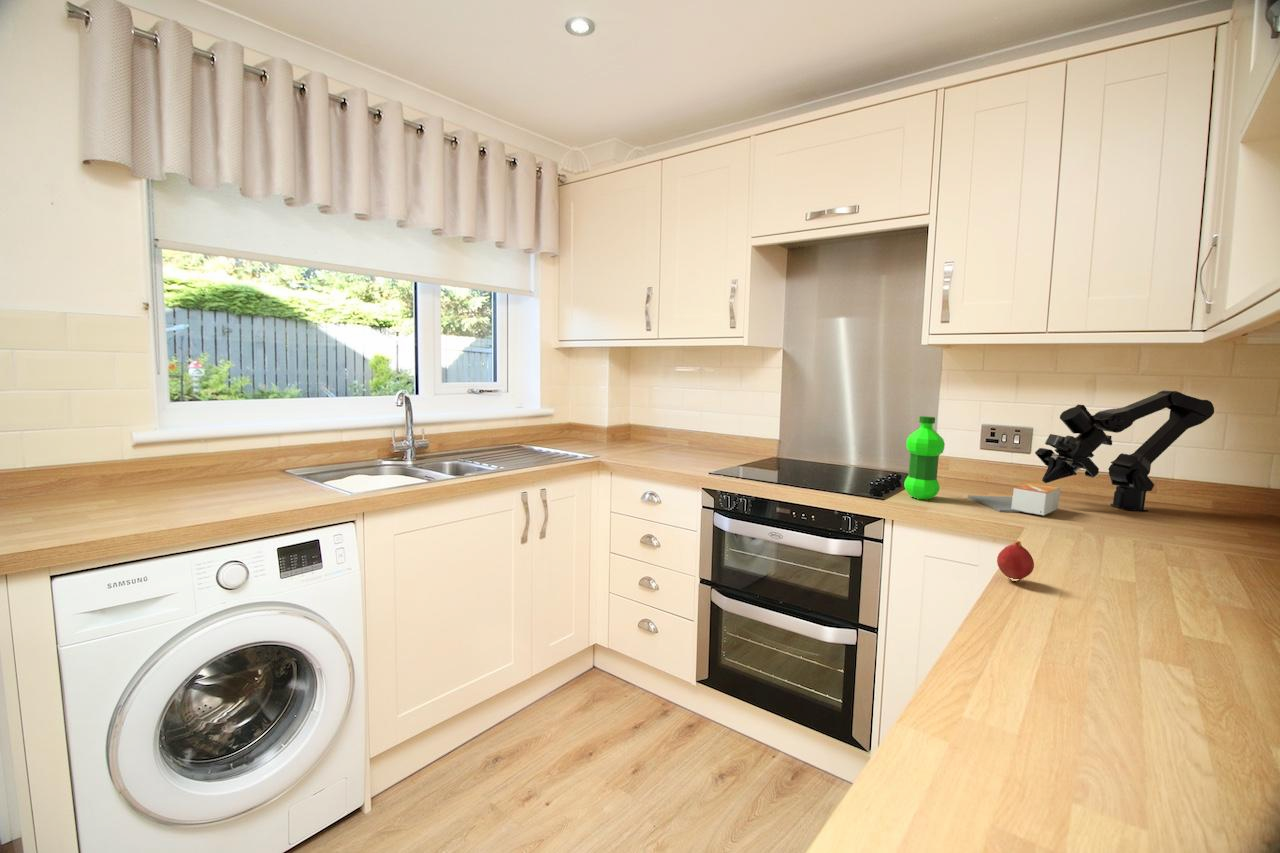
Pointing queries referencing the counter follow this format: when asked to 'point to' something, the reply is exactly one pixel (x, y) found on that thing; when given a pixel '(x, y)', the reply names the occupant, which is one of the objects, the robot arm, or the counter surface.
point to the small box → (1035, 498)
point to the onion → (1015, 561)
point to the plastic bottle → (924, 460)
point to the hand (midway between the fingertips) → (1043, 481)
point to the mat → (996, 502)
